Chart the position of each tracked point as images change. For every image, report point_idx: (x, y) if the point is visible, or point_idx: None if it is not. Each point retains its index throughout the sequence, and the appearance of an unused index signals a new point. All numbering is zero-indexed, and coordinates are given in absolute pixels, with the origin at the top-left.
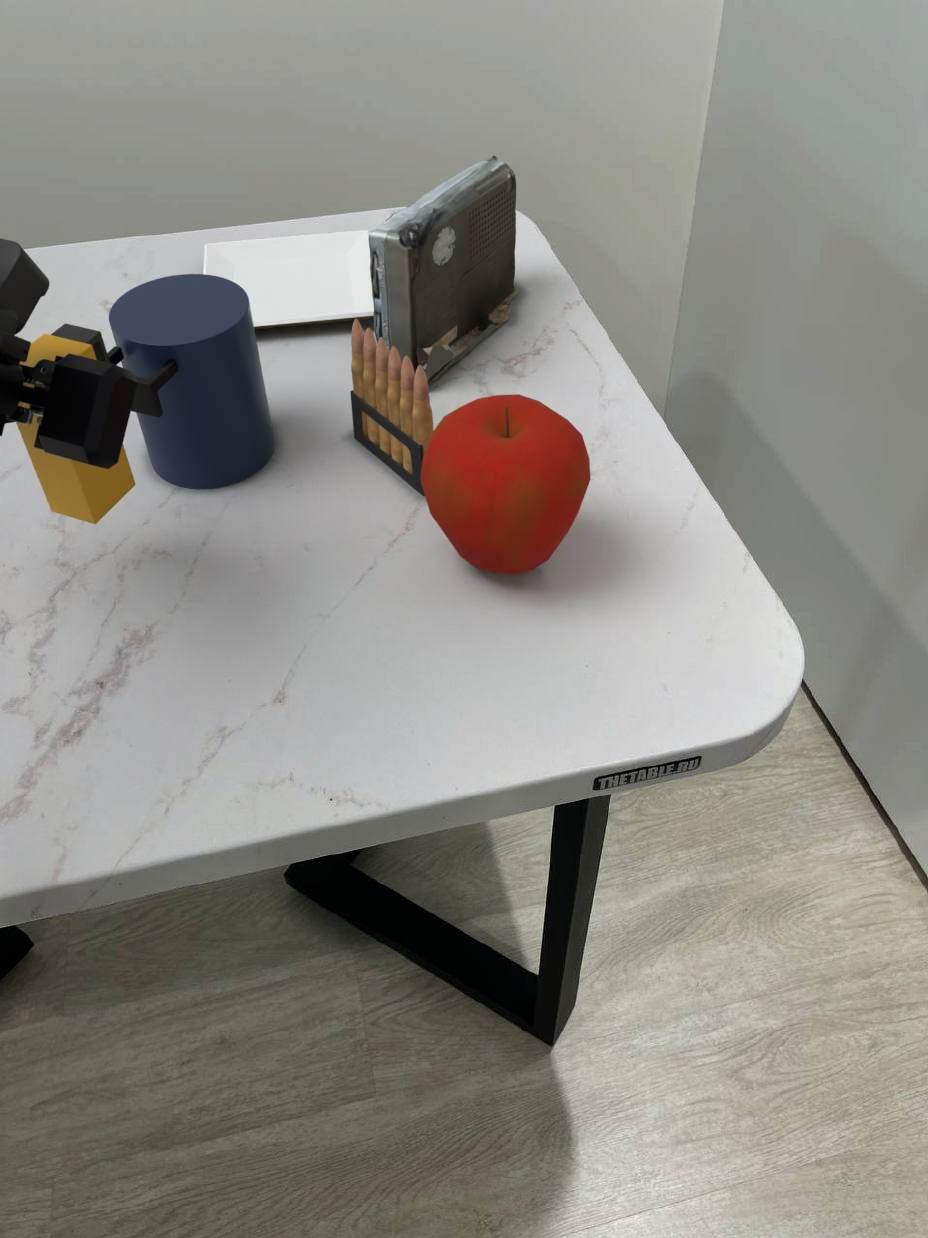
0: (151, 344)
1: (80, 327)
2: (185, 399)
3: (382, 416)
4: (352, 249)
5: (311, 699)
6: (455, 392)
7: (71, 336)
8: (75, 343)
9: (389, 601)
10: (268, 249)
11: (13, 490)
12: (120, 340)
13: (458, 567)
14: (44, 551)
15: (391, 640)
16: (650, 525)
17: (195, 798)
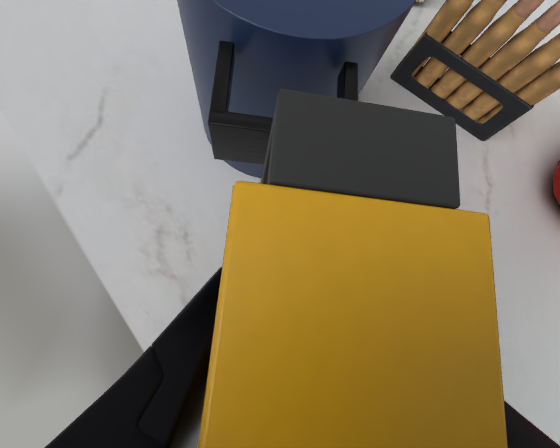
0: (320, 38)
1: (365, 107)
2: None
3: (476, 68)
4: None
5: (522, 415)
6: (442, 5)
7: (373, 178)
8: (423, 224)
9: (520, 276)
10: None
11: (75, 228)
12: (232, 27)
13: (548, 220)
14: (169, 313)
15: (544, 321)
16: None
17: None
